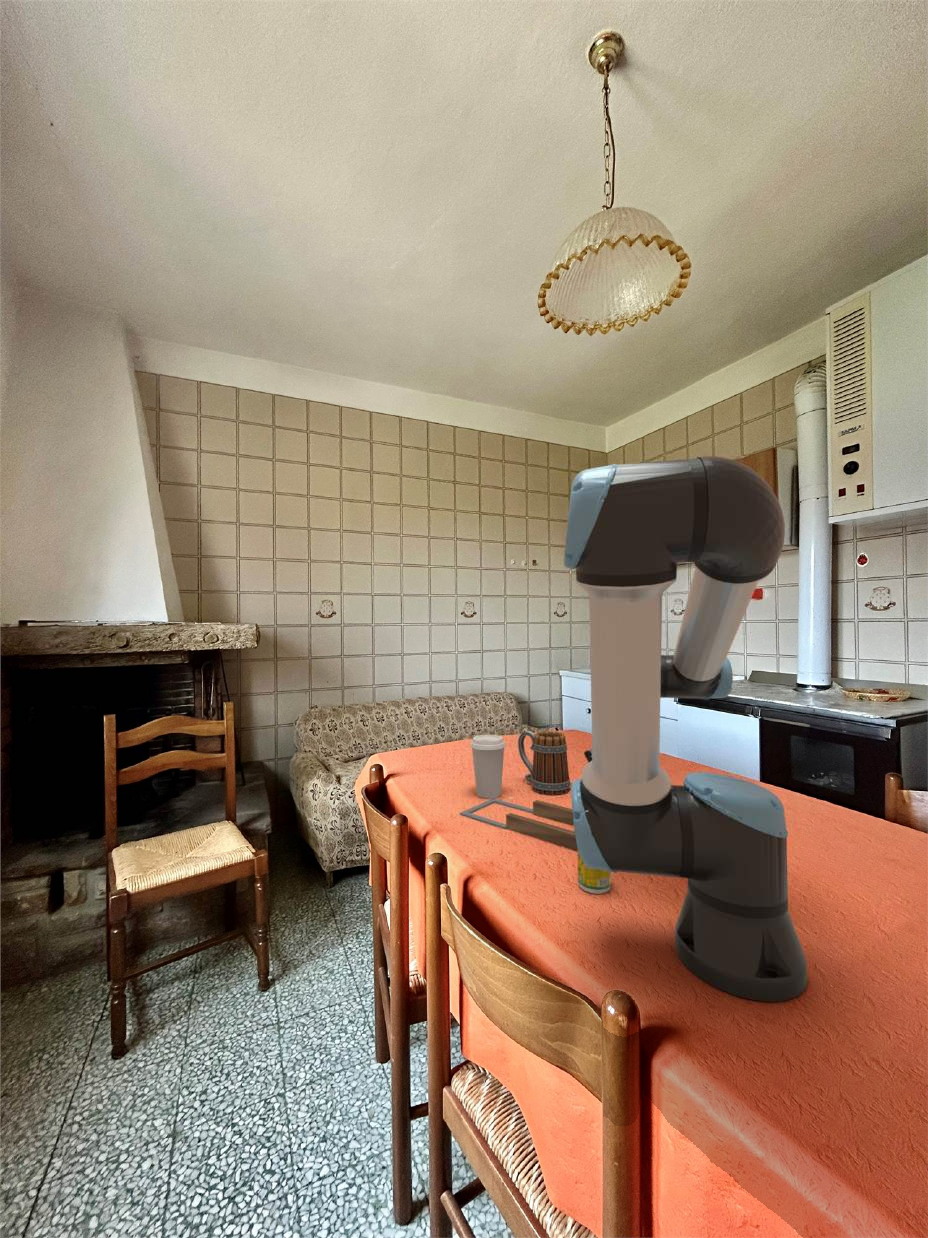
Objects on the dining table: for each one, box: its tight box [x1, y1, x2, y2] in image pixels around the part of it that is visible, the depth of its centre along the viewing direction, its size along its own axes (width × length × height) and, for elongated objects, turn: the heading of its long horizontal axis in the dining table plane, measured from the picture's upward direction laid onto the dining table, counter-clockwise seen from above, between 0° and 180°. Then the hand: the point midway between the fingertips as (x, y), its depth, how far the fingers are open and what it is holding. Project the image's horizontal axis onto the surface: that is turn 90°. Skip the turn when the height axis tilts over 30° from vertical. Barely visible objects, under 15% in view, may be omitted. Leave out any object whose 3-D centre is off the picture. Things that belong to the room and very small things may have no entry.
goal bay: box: [459, 798, 533, 830], centre depth 118 cm, size 13×14×1 cm
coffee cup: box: [469, 734, 507, 800], centre depth 131 cm, size 10×10×15 cm
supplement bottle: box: [577, 851, 612, 895], centre depth 84 cm, size 5×5×10 cm
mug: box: [517, 730, 571, 796], centre depth 136 cm, size 16×11×15 cm
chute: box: [505, 799, 578, 852], centre depth 106 cm, size 12×22×3 cm, turn 48°
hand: (617, 838), depth 98 cm, fingers closed
